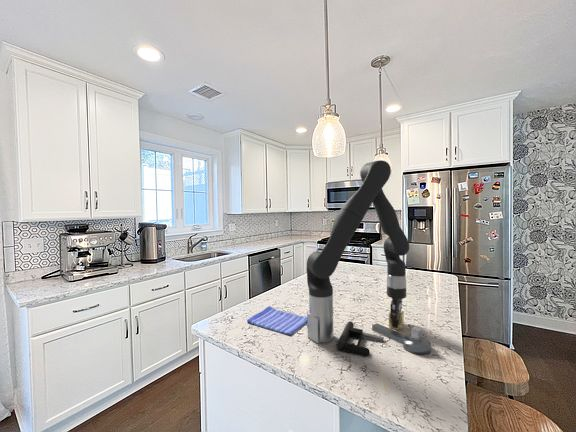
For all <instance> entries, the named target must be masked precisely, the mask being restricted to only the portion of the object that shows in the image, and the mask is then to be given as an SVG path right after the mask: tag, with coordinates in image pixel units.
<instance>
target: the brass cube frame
mask: <svg viewBox="0 0 576 432" xmlns="http://www.w3.org/2000/svg"><path fill="white" fill-rule="evenodd" d="M404 314H405V311H403V310H402V311H400V314H399V315H398V328H393V327H392V319H391V318H390V316H391V310H390V311H389V314H388V328H389V329H392V330H393V329H394V330H398V331H399V330H400V331H403V328H404V322H405V321H404V320H405V318H404V317H405V315H404ZM393 316H396V314H393Z"/></svg>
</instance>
